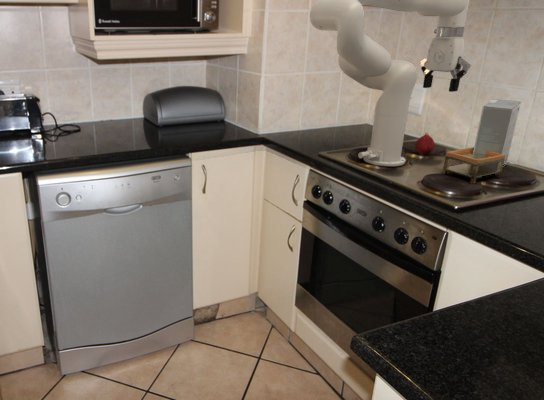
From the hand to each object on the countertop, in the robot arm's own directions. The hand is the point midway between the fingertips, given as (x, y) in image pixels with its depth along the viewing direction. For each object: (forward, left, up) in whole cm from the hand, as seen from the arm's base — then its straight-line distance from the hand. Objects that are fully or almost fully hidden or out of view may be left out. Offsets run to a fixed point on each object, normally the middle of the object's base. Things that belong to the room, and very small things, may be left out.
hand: (439, 89), depth 154 cm
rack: (-7, -20, -22) cm, 31 cm away
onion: (-1, +2, -23) cm, 23 cm away
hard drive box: (+5, -17, -22) cm, 29 cm away
